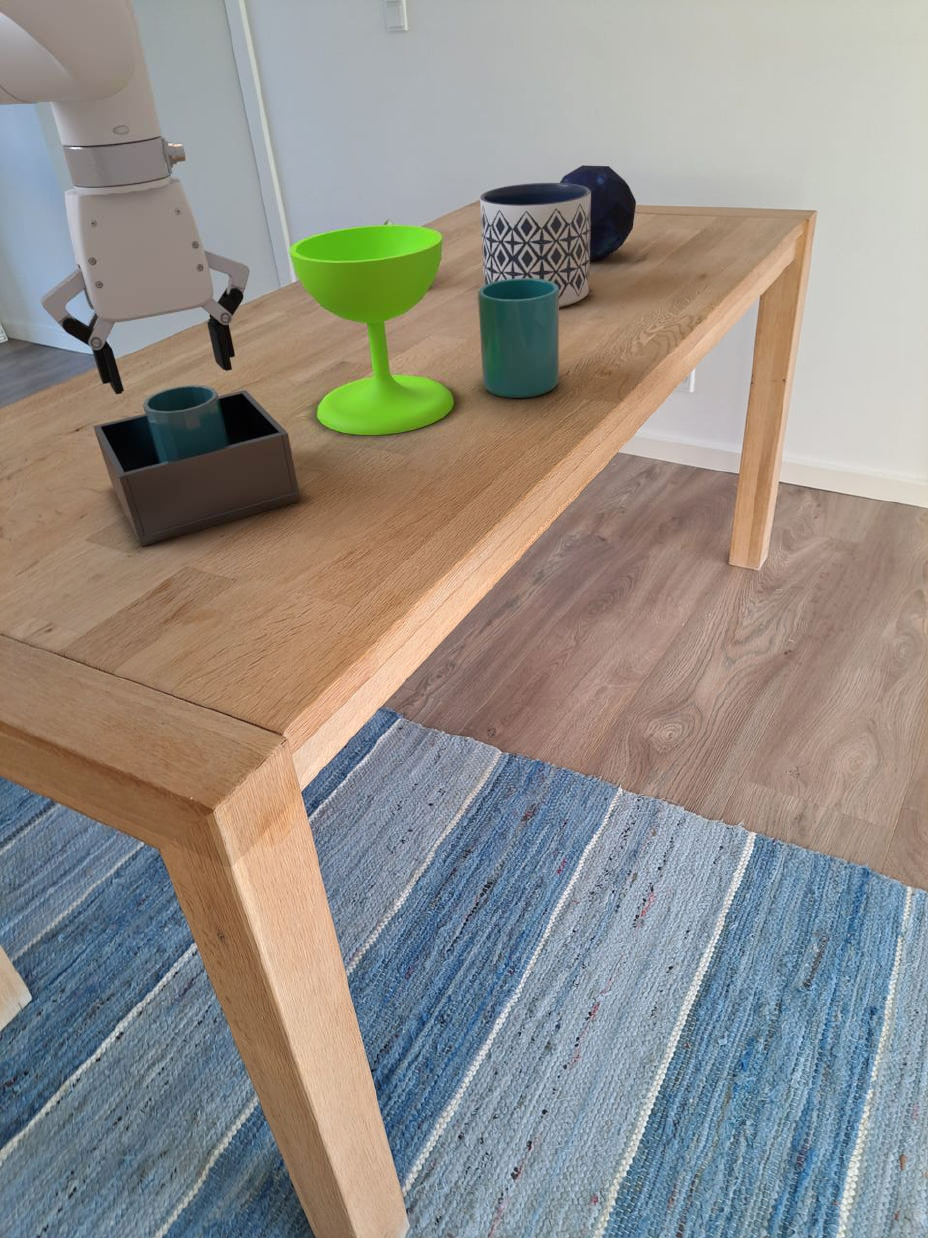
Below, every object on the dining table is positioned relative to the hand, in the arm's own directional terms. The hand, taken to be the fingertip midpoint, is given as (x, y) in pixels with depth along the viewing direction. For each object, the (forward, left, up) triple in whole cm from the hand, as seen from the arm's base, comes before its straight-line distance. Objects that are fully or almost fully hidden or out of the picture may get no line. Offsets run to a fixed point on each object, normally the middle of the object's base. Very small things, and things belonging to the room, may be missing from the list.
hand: (171, 377), depth 80 cm
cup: (+41, +7, -12) cm, 44 cm away
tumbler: (0, 0, -11) cm, 11 cm away
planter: (+61, +36, -12) cm, 72 cm away
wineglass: (+24, +10, -12) cm, 29 cm away
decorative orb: (+80, +49, -12) cm, 95 cm away
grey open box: (0, 0, -12) cm, 12 cm away
